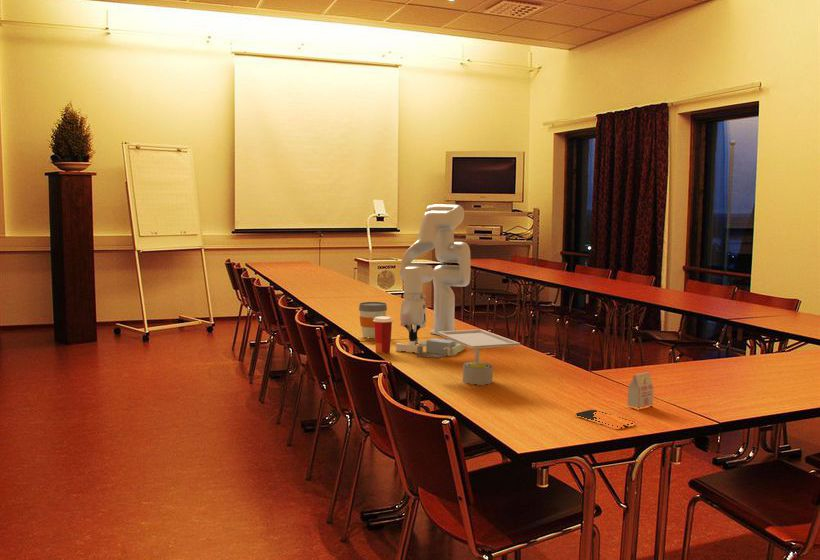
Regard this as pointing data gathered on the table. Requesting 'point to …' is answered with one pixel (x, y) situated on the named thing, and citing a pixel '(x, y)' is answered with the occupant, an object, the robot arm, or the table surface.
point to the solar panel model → (477, 352)
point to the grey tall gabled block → (640, 391)
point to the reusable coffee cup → (370, 316)
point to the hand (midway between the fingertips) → (413, 340)
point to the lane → (419, 350)
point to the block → (438, 345)
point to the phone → (590, 415)
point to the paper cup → (382, 333)
